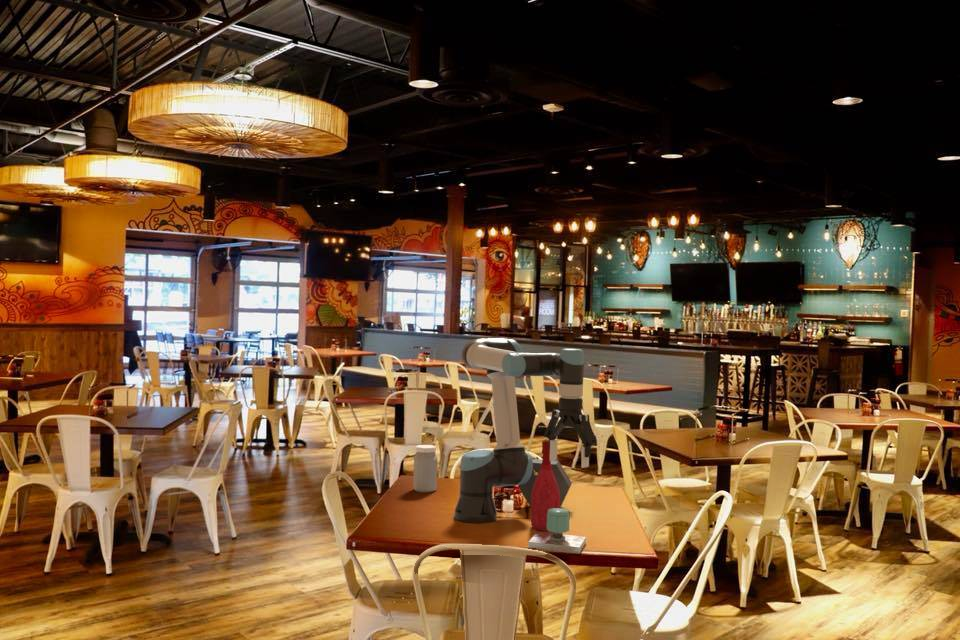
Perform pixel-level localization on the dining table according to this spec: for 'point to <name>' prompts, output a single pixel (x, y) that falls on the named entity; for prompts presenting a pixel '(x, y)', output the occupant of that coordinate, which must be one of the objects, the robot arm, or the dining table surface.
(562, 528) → the cap
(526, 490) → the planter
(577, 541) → the stud base
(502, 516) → the dining table surface
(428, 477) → the jar
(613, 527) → the dining table surface
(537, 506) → the wine bottle
